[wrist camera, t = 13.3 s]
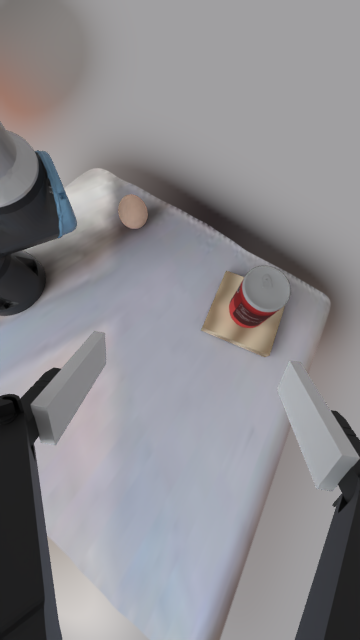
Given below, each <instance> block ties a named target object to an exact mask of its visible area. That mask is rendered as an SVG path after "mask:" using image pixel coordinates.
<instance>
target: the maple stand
mask: <svg viewBox="0 0 360 640" xmlns="http://www.w3.org/2000/svg"><path fill="white" fill-rule="evenodd" d="M243 279H244V277H242V276H239V275H236V274H234V273H231V272H229V271H226V272H225V274H224V277H223V279H222V282H221V284H220V286H219V289H218V291H217V294H216V296H215V298H214V301H213V303H212V305H211V308H210V310H209V313H208V315H207V317H206V320H205V322H204V325H203V327H202V329H201V331H204V332H206V333H209V334H211V335H213V336H216V337H218V338H220V339H223V340H225V341H228V342H230V343H232V344H235V345H237V346H239V347H242V348H244V349H247V350H249V351H251V352H254V353H256V354H259V355H261V356H263V357H267V356H269V355H270V352H271V349H272V346H273V343H274V339H275V336H276V333H277V330H278V327H279V323H280V320H281V317H282V314H283V311H284V307H285V305H284V307H282V308H281V309H280V310H279V311H277V312H276V313H275V314H273V315H272V316H271V317H270V318H268V319H267V320H266V321H264V322H263V323H262V324H260V325H259V326H257V327H254V328H244V327H241V326H239V325H237V324H236V323H235V322H234V321H233V320H232V318H231V316H230V312H229V304H230V301H231V299H232V297H233V296H234V294H235V292H236V291H237V289H238V287H239V286H240V284H241V282H242V281H243Z"/></svg>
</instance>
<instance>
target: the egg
mask: <svg viewBox="0 0 360 640" xmlns="http://www.w3.org/2000/svg"><path fill="white" fill-rule="evenodd" d="M118 211H119V217H120V219H121V221H122V223H123V224H124V225H125V226H127V227H129V228H131V229H138V228H141V227H142V226H143V225H144V224H145V223H146V221H147V217H148V212H147V208H146V205H145V203H144V202H143V201H142V200H141V199H140V198H139V197H138V196H136V195H132V194H131V195H126V196H125V197H123V198H122V200H121V201H120V204H119V208H118Z"/></svg>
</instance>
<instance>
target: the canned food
mask: <svg viewBox="0 0 360 640" xmlns="http://www.w3.org/2000/svg"><path fill="white" fill-rule="evenodd" d="M290 294H291V288H290V284H289V281H288V279H287V278H286V276H285V275H284V274H283V273H282V272H281V271H280V270H278V269H276V268H274V267H271V266H258V267H255V268H253V269H252V270H250V271H249V272H248V273H247V274H246V276H245V277H244V279H243V281H242V282H241V284H240V286H239V287H238V289H237V291H236V292H235V294H234V296H233V297H232V299H231V301H230V304H229V312H230V316H231V318H232V320H233V321H234V322H235V323H236V324H237V325H239V326H241V327H244V328H254V327H257V326H259V325H260V324H262V323H263V322H264V321H266V320H267V319H268V318H270V317H271V316H272V315H273V314H275V313H276V312H277V311H279V310H280V309H281V308H282V307H284V305H285V304H286V303H287V302H288V300H289V298H290Z"/></svg>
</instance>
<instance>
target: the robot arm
mask: <svg viewBox="0 0 360 640" xmlns="http://www.w3.org/2000/svg"><path fill="white" fill-rule="evenodd" d="M76 226H77V221H76V217H75V215H74V212H73V210H72V207H71V205H70V202H69V200H68V197H67V195H66V192H65V190H64V188H63V185H62V183H61V180H60V178H59V175H58V173H57V171H56V169H55V166H54V164H53V162H52V159H51V157H50V155H49V154H48V153H47V152H45V151H34V150H33V148H32V147H31V146H30V145H29V143H28V142H27V141H26V140H25V139H23V138H22V137H20V136H19V135H17V134H15V133H13V132H10V131H7V130H6V129H5V128H4V126H3V125H2V123H1V122H0V316H7V315H13V314H16V313H19V312H21V311H23V310H25V309H27V308H28V307H30V306H31V305H32V304H33V303H34V302H35V301H36V300H37V299H38V298H39V296H40V295H41V293H42V291H43V289H44V286H45V279H46V278H45V272H44V269H43V267H42V265H41V264H40V263H39V262H38V261H37V260H36V259H35V258H34V257H33V256H31V255H30V254H28V253H27V252H24V251H22V250H24V249H27V248H30V247H33V246H36V245H39V244H42V243H45V242H48V241H51V240H53V239H56V238H61V237H62V235H65V234H67V233H69V232H72V231H73V230H75V228H76ZM105 365H106V347H105V333H103V332H97V331H94V332H93V333H92V334H91V336H90V337H89V338H88V339H87V340H86V341H85V342H84V344H83V345H82V346H81V347H80V348H79V349H78V351H77V352H76V353H75V354H74V355H73V356H72V357H71V359H70V360H69V361H68V362H67V363H66V364H65V365H64V367H63V368H62V369H59V368H52V369H51V370H49V371H47V372H45V373H44V374H43V375H42V376H41V377H40V379H39V380H38V381H37V382H36V383H35V384H34V386H32V387H31V388H30V389H29V390H28V391H27V392H26V393H25V394H24V395H23V396H22V398H21V399H20V398H19V396H17V395H15V394H7V395H2V396H0V640H62V635H61V630H60V626H59V620H58V614H57V607H56V599H55V592H54V584H53V578H52V570H51V562H50V555H49V548H48V541H47V533H46V526H45V519H44V511H43V504H42V497H41V489H40V482H39V475H38V467H37V460H36V453H35V446H34V442H35V441H36V439H37V438H38V436H39V438H40V441H41V443H45V444H51V445H56V444H57V442H58V441H59V439H60V437H61V436H62V434H63V433H64V431H65V429H66V428H67V426H68V424H69V423H70V421H71V420H72V418H73V416H74V415H75V413H76V412H77V410H78V408H79V407H80V405H81V403H82V402H83V400H84V399H85V397H86V395H87V394H88V392H89V390H90V389H91V387H92V386H93V384H94V382H95V381H96V379H97V377H98V376H99V374H100V373H101V371H102V369H103V368H104V366H105ZM277 391H278V393H279V396H280V398H281V401H282V403H283V406H284V408H285V411H286V413H287V416H288V419H289V421H290V424H291V426H292V428H293V431H294V433H295V436H296V438H297V441H298V444H299V446H300V448H301V451H302V453H303V456H304V459H305V461H306V463H307V466H308V469H309V471H310V473H311V476H312V478H313V481H314V484H315V486H316V489H321V490H327V491H333V490H334V489H335V488H336V487H337V485H339V487H340V490H341V492H342V494H341V495H340V496H339V498H338V499H337V500H336V501H335V502H334V503H333V506H334V507H335V506H336V505H337V506H336V509H335V512H334V515H333V519H332V522H331V525H330V528H329V532H328V535H327V538H326V541H325V544H324V547H323V551H322V554H321V557H320V560H319V564H318V567H317V570H316V573H315V577H314V580H313V583H312V586H311V589H310V592H309V596H308V599H307V602H306V605H305V609H304V612H303V615H302V618H301V621H300V625H299V628H298V632H297V634H296V638H295V640H360V440H359V439H358V437H356V434H355V433H354V431H353V430H352V429H351V427H350V426H349V424H348V422H347V421H346V419H344V417H342V416H341V415H340V414H339V413H338V412H337V411H332V410H330V409H329V407H328V406H327V404H326V402H325V401H324V399H323V397H322V396H321V394H320V393H319V391H318V389H317V388H316V386H315V385H314V383H313V381H312V380H311V378H310V377H309V375H308V373H307V372H306V370H305V368H304V367H303V365H302V364H301V362H296V361H290V360H289V363H288V365H287V367H286V370H285V372H284V374H283V377H282V379H281V381H280V384H279V386H278V388H277Z"/></svg>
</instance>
